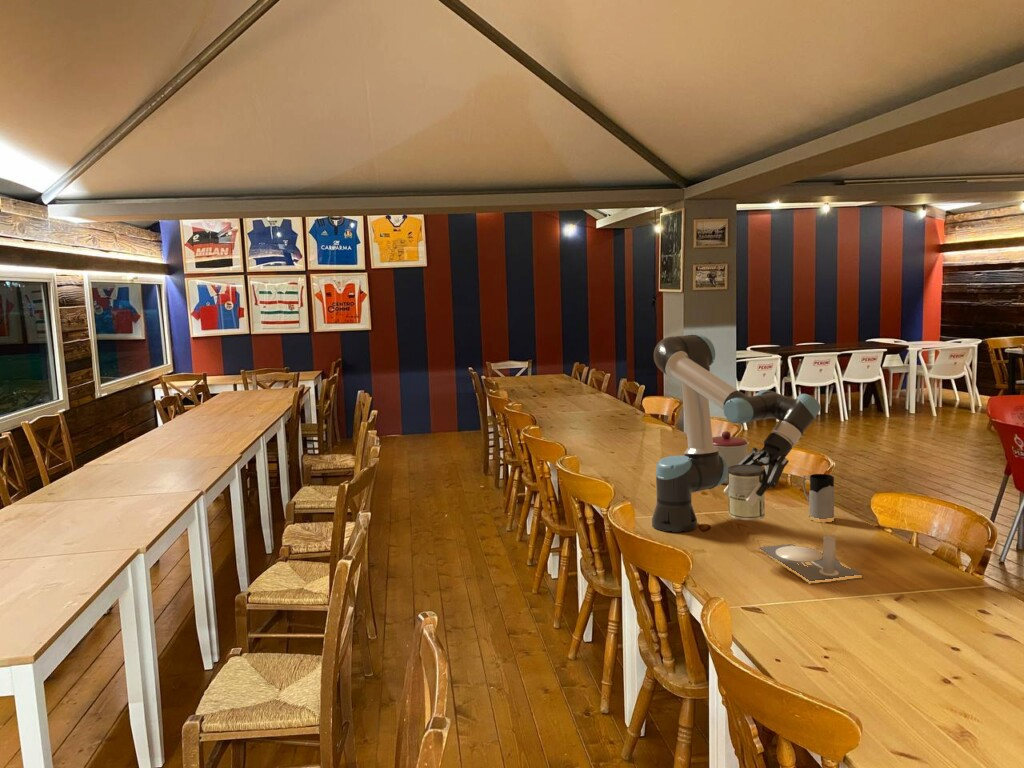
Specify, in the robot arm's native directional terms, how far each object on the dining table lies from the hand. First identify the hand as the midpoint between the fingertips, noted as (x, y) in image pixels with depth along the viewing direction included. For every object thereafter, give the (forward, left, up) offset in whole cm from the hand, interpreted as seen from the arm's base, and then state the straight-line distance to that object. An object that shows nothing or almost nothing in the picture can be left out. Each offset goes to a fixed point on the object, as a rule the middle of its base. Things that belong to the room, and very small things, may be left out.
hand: (737, 498), depth 215 cm
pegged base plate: (+18, -7, -19) cm, 27 cm away
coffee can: (+3, 0, -6) cm, 6 cm away
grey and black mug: (+45, +32, -19) cm, 59 cm away
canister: (+38, +86, -19) cm, 96 cm away
